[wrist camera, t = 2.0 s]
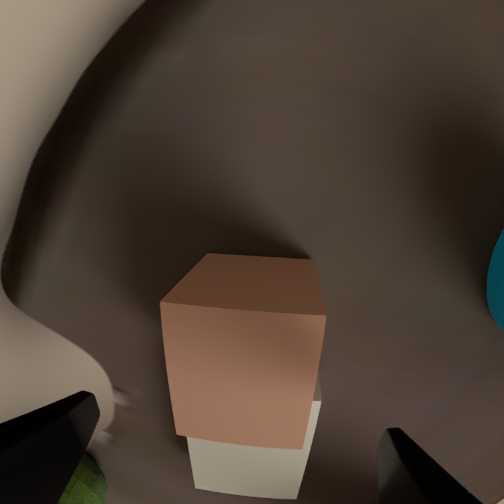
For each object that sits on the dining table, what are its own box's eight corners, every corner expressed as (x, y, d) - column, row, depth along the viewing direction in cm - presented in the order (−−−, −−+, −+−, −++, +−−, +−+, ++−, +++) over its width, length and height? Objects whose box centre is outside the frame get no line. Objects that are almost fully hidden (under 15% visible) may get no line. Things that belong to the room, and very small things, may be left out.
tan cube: (301, 367, 16) (302, 450, 10) (210, 359, 17) (177, 435, 11) (313, 259, 15) (326, 315, 9) (207, 253, 15) (159, 301, 9)
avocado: (52, 415, 21) (-19, 499, 9) (126, 464, 21) (71, 564, 9) (51, 451, 23) (-2, 521, 12) (112, 490, 23) (70, 570, 12)
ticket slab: (297, 473, 19) (296, 500, 16) (203, 463, 19) (195, 488, 17) (318, 372, 16) (321, 402, 14) (193, 361, 17) (179, 388, 14)
